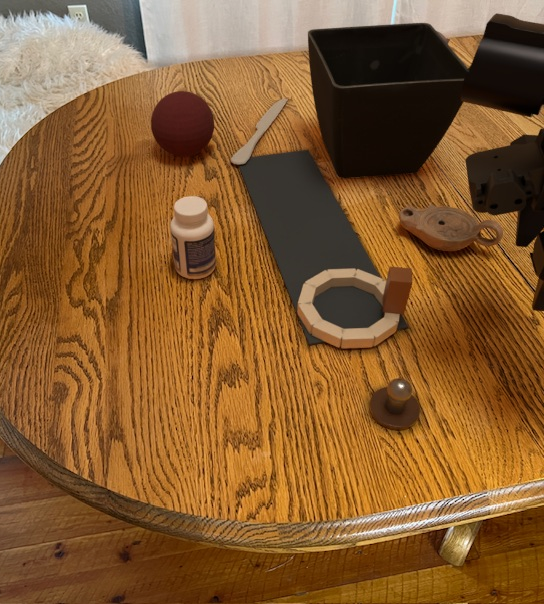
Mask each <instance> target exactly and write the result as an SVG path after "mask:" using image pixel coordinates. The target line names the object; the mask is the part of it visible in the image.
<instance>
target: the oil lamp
mask: <svg viewBox="0 0 544 604" xmlns="http://www.w3.org/2000/svg"><path fill="white" fill-rule="evenodd" d="M398 220H399V223H400V225H401V227H403V228H404V229H405V230H407V231H408V232H410V233H411V234H413V236H415V237H417V238H418V239H419V240H420V241H422V242H423V243H424V244H426V245H427V246H429V247H430V248H432V249H433V250H434V249H435V250H438V251H443V252H455V251H456V252H457V251H459V250H462V249H464V248H466V247H468V246H470V245H471V244H472V243H473V242H475V243H477V244H478V245H480V246H482V247H493V246H496V245H498V244H499V243H500V242H501V240H502V238H503V236H504V230H503V227H502V226H501V224H500V223H499V222H497V221H496V220H493V219H485V220H482V221H481V222H480V223H479V221H478V219H477V218H476V217H475V216H473V214H471V213H469V212H467V211H466V210H463V209H461V208H458V207H453V206H435V205H434V204H429V205H428V207H426V208H425V207H424V208H417V207H414V206H413V205H411V204H410V205H408V206H406V207H405V206H404V207H403V208H402V209H401V210H400V211H399V215H398ZM483 229H490V230H491V231H493V232H495V238H486V237H484V236H483V235H482V232H481V231H482V230H483Z"/></svg>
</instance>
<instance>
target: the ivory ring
mask: <svg viewBox="0 0 544 604" xmlns="http://www.w3.org/2000/svg"><path fill="white" fill-rule="evenodd" d="M345 286H354V287H356V288H359V289H361V290H364V291H366V292H369V293H371V294H373V295H374V296H375V297H376V298H377V300H378V301H379V302H380V304H381V305H382V306H383V312H385V313H384V318H382V319H381V320H379V321H378V322H376V323H375V324H373V325H372V326H370V327H369V328H353V329H343V328H341V327H338V326H336V325H334V324H332V323H329V322H327V321H325V320H323V319H322V318H321V317H320V315H319V314H318V312H317V310H316V309H315V307H314V306H313V303H314V299H315V297H316V296H317V295H319V294H320V293H322V292H324V291H325V290H327V289H329V288H330V287H345ZM412 287H413V270H412V268H410V267H401V266H391V265H390V266H389V267H388V272H387V276H386V280H384V278H382V277H381V278H379V277H377V276H374V275H372V274H369V273H367V272H364V271H362V270H359V269H357V270H356V269H355V268H354V269H328V270H327V271H326V270H325V271H323V272H321V273H319V274H318V275H316V276H314V277H313V278H311V279H309V280H307V281H306V282H305V283H304V284H303V287H302V291H301V294H300V297H299V301H298V308H297V312H298V313H297V314H298V316H299V317H300V319H301V320H302V322H303V324H304V325H305V327H306V328H307V330H308V332H309V333H310V334H312V336H314V337H316V338H318V339H321V340H323V341H325V342H326V343H327V344H329V345H332V346H333V347H336V348H338V349H362V348H363V349H364V348H373V347H376V346H378V345H379V344H380V343H382V342H384V341H385V340H386V339H388V338H390V337H391V336H392V335H393V334H395V333H396V332H397V331H398V330H397V326H398V322H399V315H400V314H402V315H405V312H406V308H407V304H408V302H409V297H410V295H411V291H412ZM297 314H296V315H297ZM298 316H297V317H298Z"/></svg>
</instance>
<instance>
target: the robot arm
mask: <svg viewBox="0 0 544 604" xmlns="http://www.w3.org/2000/svg"><path fill="white" fill-rule="evenodd" d="M461 101H462V102H463V103H467V104H471V105H475V106H480V107H484V108H487V109H488V108H489V109H492V110H496V111H501V112H505V113H508V114H509V113H510V114H514V115H518V116H523V117H527V118H532V117H533V116H539V115H540V112H541V110H542V107H543V106H544V23H539V22H533V21H528V20H522V19H519V18H517V17H515V16H513V15H508V14H505V13H504V14H503V13H495V14H493V15H492V17H491V18H490V19H489V20H488V21H487V22H486V25H485V29H484V32H483V35H482V38H481V40H480V41H479V44H478V46H477V48H476V51H475V53H474V56H473V59H472V61H471V64H470V65H469V66H468V69H467V71H466V74H465V78H464V82H463V86H462V91H461ZM465 168H466V175H467V176H466V177H467V184H468V190H469V195H470V201H471V206H472V210H473V211H475V212H476V213H478V214H479V213H480V214H486V213H487V214H489V215H491V216H500V215H505V214H510V213H511V214H512V213H516V212H517V216H516V217H517V218H516V230H515V246H516V247H519V248H527V247H529V246H530V244H531V243H533V249H532V252H529V256H530V261H531V264H532V268H533V271H534V274H535V275H536V277H537V283H536V286H535V290H534V293H533V297H532V303H531V309H532V310H533V311H535V312H544V128H542V127H541V128H540V129H539V131H538V134H525V133H524V134H522V135H520V136H518V137H517V138H515V139H514V140H512V141H511V142H510V144H509V145H504V146H499V147H496V148H490V149H487V150H486V149H485V150H482V151H476V152H474V153H471V154H469V155H468V156H466V158H465ZM534 240H535V241H534ZM533 241H534V242H533Z"/></svg>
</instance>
